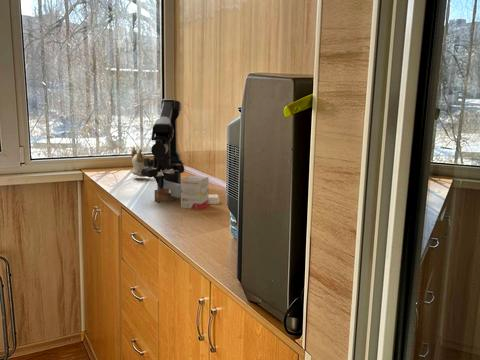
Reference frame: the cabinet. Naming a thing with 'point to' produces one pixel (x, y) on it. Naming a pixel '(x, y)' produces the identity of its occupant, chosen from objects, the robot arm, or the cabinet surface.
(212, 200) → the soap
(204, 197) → the ink box
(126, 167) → the cabinet surface
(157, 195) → the brown boxy piece
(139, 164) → the ceramic sculpture
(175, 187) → the light blue block
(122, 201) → the cabinet surface
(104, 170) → the cabinet surface
